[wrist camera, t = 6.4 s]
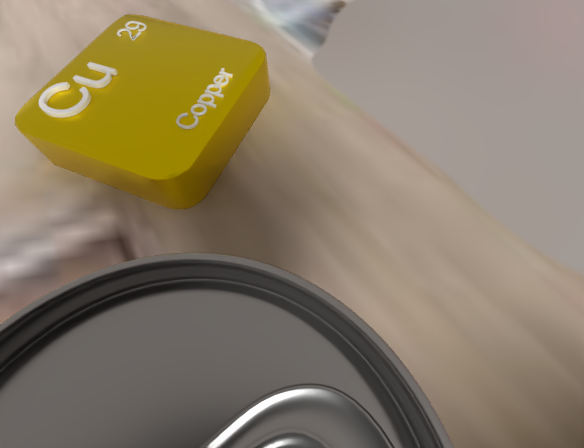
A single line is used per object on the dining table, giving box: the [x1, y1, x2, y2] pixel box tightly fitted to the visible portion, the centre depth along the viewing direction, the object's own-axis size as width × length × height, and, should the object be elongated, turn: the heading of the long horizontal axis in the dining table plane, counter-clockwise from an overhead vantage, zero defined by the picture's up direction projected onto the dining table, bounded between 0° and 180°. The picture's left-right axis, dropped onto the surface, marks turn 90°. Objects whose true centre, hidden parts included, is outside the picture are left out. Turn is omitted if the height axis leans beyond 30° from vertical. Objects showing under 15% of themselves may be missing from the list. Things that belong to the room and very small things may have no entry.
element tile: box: [15, 15, 270, 209], centre depth 28 cm, size 15×15×5 cm
